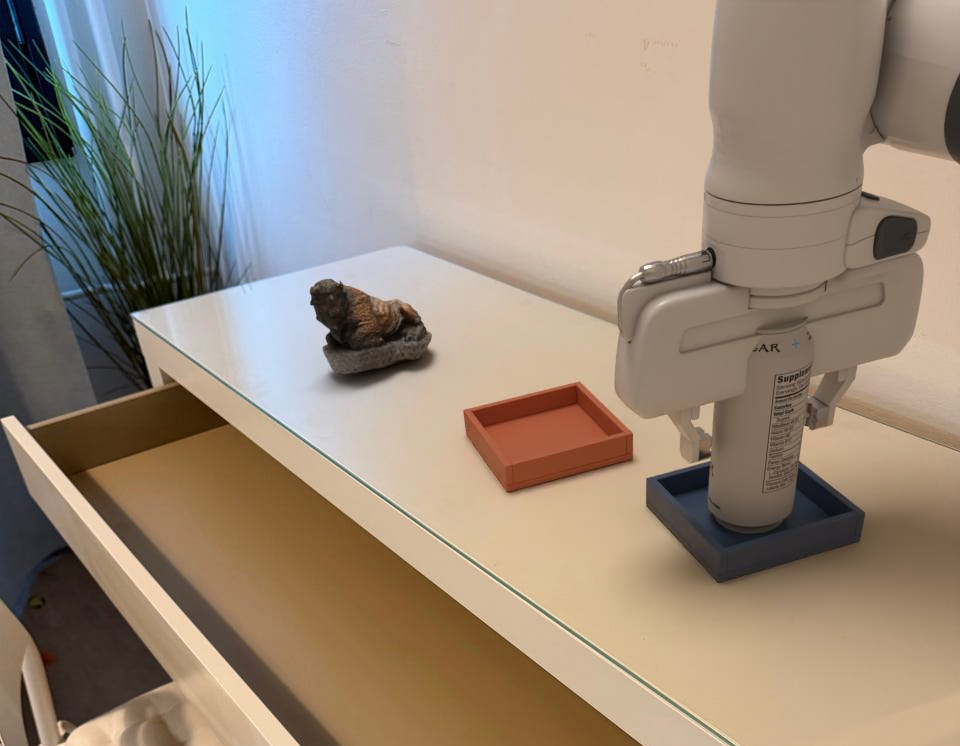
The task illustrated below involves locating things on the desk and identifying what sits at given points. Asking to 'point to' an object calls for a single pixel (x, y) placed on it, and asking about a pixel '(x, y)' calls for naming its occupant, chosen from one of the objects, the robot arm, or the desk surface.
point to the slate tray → (730, 554)
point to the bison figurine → (366, 328)
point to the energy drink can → (762, 433)
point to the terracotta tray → (547, 435)
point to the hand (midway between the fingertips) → (756, 441)
